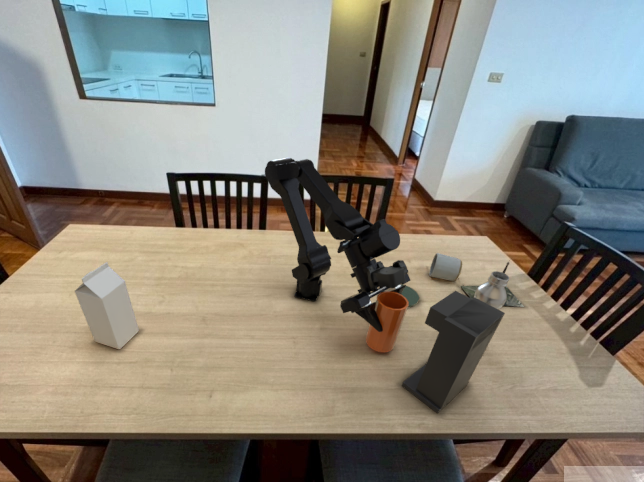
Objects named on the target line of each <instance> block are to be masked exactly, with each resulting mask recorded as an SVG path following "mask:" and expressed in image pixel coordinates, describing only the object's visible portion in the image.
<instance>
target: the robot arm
mask: <svg viewBox="0 0 644 482" xmlns="http://www.w3.org/2000/svg"><path fill="white" fill-rule="evenodd" d="M314 164H315V163H314V162H313V161H312V160H311V159H309V158H305V159H299V160H295V159H294V158H292V157H282V158H279V159H278V158H277V159H273V160H269V161H267V163H266V165H265V167H264V175H265V178H266V180H267V182H268V184H269V186H270V188H271V189H272V190H273V191H274V192H275V193H276V194H277V195H278V196H279V197H280V198H281V201H282V205H283V207H284V210H285V212H286V216H287V218H288V220H289V223H290V224H289V225H290V228H291V229H292V232H293V235H294V237H295V240H296V243H297V246H298V251H297V259H296V260H297V264H298V265H297V266H296V267H293V268H292V269H291V275H292V278H294V279H295V280H296V288H295V289H296V290H295V292H294V295H293V297H294V298H298V299H302V300H305V301H306V300H307V301H312V302H317V300H318V297H320V296H321V294H322V288H323V287H322V286H323V279H321V278H322V276H325V275H326V274H327V272H329V271H330V269H331V267H332V261H331V260H332V257H331V255H330V253H329V249H328V247H327V245H326V244H324V245H322V244H320V243H319V242H318V241H317V239H316V236H315V233H314V230H313V228H312V225H311V222H310V219H309V216H308V213H307V211H306V207H305V204H304V201H303V200H302V197H301V194H300V191H299V187H300V185H301V186H302V188H303V189H304V190H305V192H306V193H307V195H308V196H309V197H310V198H311V199H312V201H313V202H314V203H315V205H316V206H317V207H318V209H319V210H320V211H321V213H322V215H323V219H324V226H325V227H326V228H327V230H328V232H329V234H330V235H331V237H332V239H334V240H336V241H340V242H339V246H338V248H337V253H338V254H342V253H343V252H344V254H345V256H346V259H347V262H348V263H349V266H350V268H351V270H352V273H350V277H351V279H353V278H355V279H356V281H357V283H358V286H359V289H357V293H355V294H352V295H350V296H348V297H346V298H344V299H342V300H340V305H339V306H340V310H341V311H342V313H343V314H347V313H349V312H350V313H351V314H354V313H355V314H356V315H358V316H359V317H361V318H362V319H363V320H364V321H365V322H367V323H368V324H369V325H371V326H373V327H374V328H375V329H376V330H377V331H378V332H382V331H383V329H382V326H381V323H380V321H379V318H378V316H377V313H376V311H375V306H376V301H374V302H372V301H371V300H372V298H374V297H377V295H378V294H379V293H381V292H383V291H392V292H396V293H399V294H402V292H403V290H404V288H405V287H406V286H407V285H406V284H407V283H408V282H411V280H412V279H411V277H410V275H409V269H408V266H407V264H406V263H405V261H404V260H402V259H398V260H396V261H394V262H393V263H392V265H390V266H385V265H384V263H383V261H381V260H378V261H377V259H376V258H379V257H381V256H384V255H386V254H389V253H391V252H393V251H394V250H395V251H396V249H398V248H399V246H400V244H401V235H400V233H399V231H398V230H397V229H396V228H395V227H394V226H393V225H392V224H390V223H387V220H386V219H385V218H383V219H379V220H377V221H376V222H374V223H372V222H371V221H369V220H368V219H367V218H365V217H364V216H363V215H362V213H360V212H359V210H358V209H356V208H355V207H354V206H353V205H352V204H350V203H347V202H345V201H344V200H342V199H341V198H339V196H338V195H337V194H336V193H335V191H334V190H333V189H332V188H331V186H330V185H329V184H328V182H327V181H326V180H325V179H324V177H323V176H322V175H321V173H320V172H319V171H318V170H317V169H316V167H315V165H314ZM401 284H402V285H403V286H401Z"/></svg>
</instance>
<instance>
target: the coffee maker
mask: <svg viewBox="0 0 644 482" xmlns="http://www.w3.org/2000/svg"><path fill="white" fill-rule="evenodd" d="M505 314H506V312H504V311H502V310H501V309H500V310H498V309H496V308H494V307H492V306H490V305H489V304H487V303H485V302H483V301H481V300H479V299H477V298H475V297H474V298H473V299H471V298H470V297H469V296H467V295H465V294H463V293H461V292H459V291H458V290H454V291H452V292H450V294H449V295H446V296H445V297H444V298H441V300H439V301H438V302H436V303H435V304H433V305H432V306H430V308H429V310H428V313H427V316H426V319H425V321H424V324H425V325H427V326H429V327H430V328H431V329H433V330H435V331H436V332H438V334H437V336H436V339H435V341H434V344H433V347H432V349H431V351H430V354H429V356H428V359H427V361H426V363H425V364H424V365H423V366H421V367H420V368H419V369H418V370H416V371H415V372H414V373H412V374H411V375H410V376H409V377H407V378H406V379H405V380H404V381H402V384H401V387H403V388H404V389H405V390H406V391H407V392H408V393H410V394H411V395H413V396H414V397H416V398H417V399H418V400H419V401H421V402H422V403H423V404H425V405H426V406H427V407H429V408H430V409H431V410H432V411H434V412H435V413H436V414H439V413H440V412H441V411H442V410H443V409H444V408H446V406H448V404H449V403H451V402H452V400H454V399H455V398H456V397H457V396H458V395H459V394H460V393H461V392H462V391H463V390H464V389H465V388H466V387H467V386H468V384H469V382H470V380H471V378H472V377H473V374H474V372H475V371H476V369H477V367H478V365H479V363H480V361H481V360H482V357H483V355H484V354H485V352H486V350H487V348H488V346H489V344H490V343H491V340H492V339H493V337H494V335H495V333H496V331H497V329H498V327H499V325H500V324H501V322H502V320H503V318H504V317H505Z"/></svg>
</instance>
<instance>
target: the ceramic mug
mask: <svg viewBox="0 0 644 482" xmlns="http://www.w3.org/2000/svg"><path fill="white" fill-rule="evenodd" d="M462 268H463V260H462V259H460V258H457V257H455V256H450V255H446V254H444V253H439V252H437V253H435V254H434V256H433V258H432V260H431V264H430V267H429V273H428V274H429V277H430V278H436V279H441V280H445V281H451V282H452V281H456V280H458V279H459V277H460V275H461V272H462V270H463V269H462Z"/></svg>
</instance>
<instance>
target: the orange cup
mask: <svg viewBox="0 0 644 482" xmlns="http://www.w3.org/2000/svg"><path fill="white" fill-rule="evenodd" d="M375 302H376V306H375V311H376V313H377V316H378V318H379V321H380V323H381V326H382V329H383V331H382V332H378V331H377V330H376V329H375V328H374V327H373V326H371V325H370V324H369V326H368V329H367V332H366V335H365V342H366V345H367V346H368V347H369V348H370V349H371V350H373V351H375V352H378V353H388V352H391V351H393V349H394V348H395V345H396V343H397V340H398V337H399V335H400V331H401V328H402V326H403V324H404V323H403V322H404V320H405V318H406V317H405V316H406V314H407V310H408V303H409V302H408V300H407V299H406V298H405V297H404V296H403V295H401V294H399V293H396V292H392V291H384V292H381V293H379V294H378V295H376V300H375Z"/></svg>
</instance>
